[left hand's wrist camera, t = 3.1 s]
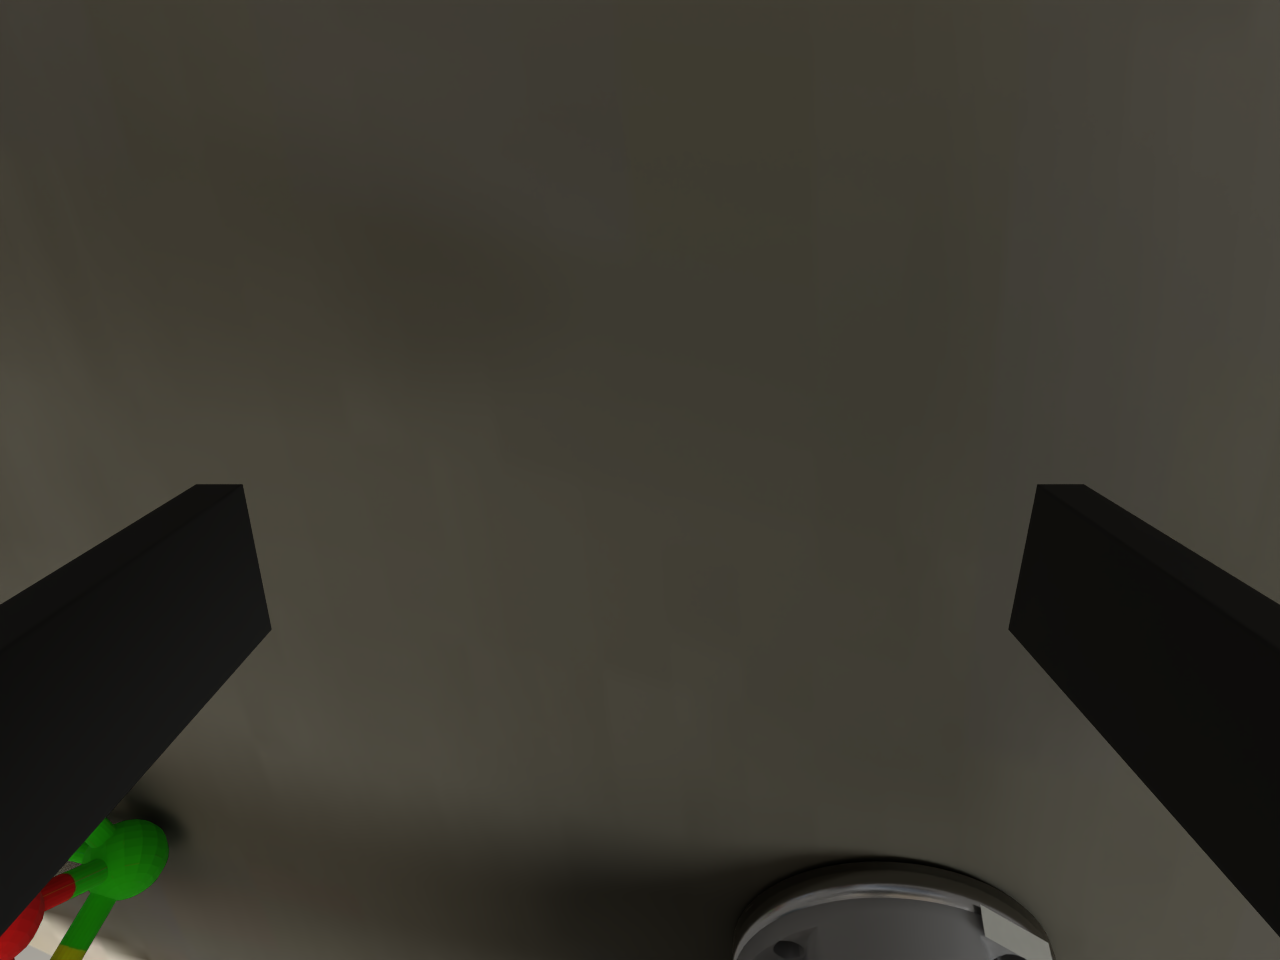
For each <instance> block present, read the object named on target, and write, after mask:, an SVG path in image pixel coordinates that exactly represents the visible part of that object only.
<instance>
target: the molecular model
mask: <svg viewBox="0 0 1280 960" xmlns="http://www.w3.org/2000/svg"><path fill="white" fill-rule="evenodd" d="M168 854H169V847H168V842H167V839H166V835H165V834H164V832H163V830H162V829H161V828H160V827H159V826H157V825H156V824H154V823H152V822H149V821H147V820H141V819H132V820H125V821H122V822H119V823H116V824H114V825H113V824H112V823H111V822H110V821H109V820H108V819H107V818H105V819H104V820H103V821H102V822H101V823H100V824H99V826H98V827H97V828H96V829H95V830H94V831H93V832H92V834H91V835H90V836H89V837H88V838H87V839H86V840H85V841H84V843H83V844H82V845H81V846H80V847H79V848H78V849H77V851H76V852H75V853H74V854H73V855H72V856H71V857H70V859H69V860H68V861H72V862H77V863H81V864H82V865H80V866H78V867H76V868H74V869H71V870H69V871H67V872H64V873H62V874H60V875H57V876H55V877H53V878H52V879H51V880H50V881H49V882H48V883H47V885H46V886H45V887H44V888H43V889H42V890H41V891H40V893H39V894H38V895H37V896H36V897H35V898H34V899H33V900H32V902H31V903H30V904H29V905H28V906H27V907H26V908H25V910H24V911H23V912H22V913H21V914H20V915H19V916H18V917H17V919H16V920H15V921H14V922H13V923H12V924H11V925H10V927H9V928H8V929H7V930H6V931H5V932H4V933H3V934H2V936H1V937H0V960H15V959H14V957H15V956H17V955H18V954H19V953H20V952H21V951H22V950H23V949H24V948H26V947H27V945H28V944H29V943H30V941H31V940H32V939H33V937H34V935H35V933H36V932H37V930H38V928H39V925H40V923H41V921H42V919H43V915H44V911H46V910H48V909H51V908H53V907H55V906H57V905H59V904H61V903H63V902H65V901H67V900H69V899H71V898H74V897H76V896H78V895H80V894H82V893H84V892H86V891H89V892H90V895H89V896H88V898H87V900H86V901H85V903H84V905H83V906H82V908H81V909H80V911H79V913H78V914H77V916H76V918H75V919H74V921H73V923H72V924H71V926H70V928H69V929H68V931H67V933H66V934H65V936H64V938H63V939H62V941H61V942H60V944H59V946H58V947H57V949H56V951H55V952H54V954H53V956H52V957H51V959H50V960H82V958H83V957H84V955H85V953H86V952H87V950H88V948H89V946H90V945H91V943H92V941H93V940H94V938H95V936H96V934H97V933H98V931H99V929H100V928H101V926H102V924H103V922H104V921H105V919H106V917H107V916H108V914H109V912H110V910H111V909H112V907H113V905H114V904H115V902H116V901H117V900H124V899H127V898H131V897H133V896H135V895H137V894H139V893H141V892H143V891H144V890H145V889H147V888H148V887H149V886H151V885H152V884H153V883H154V882H155V881H156V880H157V878H158V876H159V875H160V873H161V872H162V870H163V868H164V867H165V865H166V862H167V859H168Z"/></svg>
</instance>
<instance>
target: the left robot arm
mask: <svg viewBox="0 0 1280 960" xmlns="http://www.w3.org/2000/svg"><path fill="white" fill-rule="evenodd" d="M270 631H271V624H270V619H269V614H268V609H267V604H266V599H265V594H264V589H263V584H262V579H261V574H260V569H259V564H258V559H257V554H256V549H255V544H254V539H253V534H252V529H251V524H250V519H249V514H248V509H247V504H246V499H245V494H244V489H243V484H196V485H194V486H193V487H191V488H190V489H188V490H186V491H185V492H183V493H181V494H180V495H178V496H177V497H175V498H173V499H172V500H170V501H168V502H167V503H165V504H163V505H162V506H160V507H159V508H157V509H155V510H154V511H152V512H150V513H149V514H147V515H146V516H144V517H142V518H141V519H139V520H137V521H136V522H134V523H133V524H131V525H129V526H128V527H126V528H124V529H123V530H121V531H120V532H118V533H116V534H115V535H113V536H111V537H110V538H108V539H107V540H105V541H103V542H102V543H100V544H98V545H97V546H95V547H94V548H92V549H90V550H89V551H87V552H85V553H84V554H82V555H81V556H79V557H77V558H76V559H74V560H72V561H71V562H69V563H67V564H66V565H64V566H63V567H61V568H59V569H58V570H56V571H54V572H53V573H51V574H50V575H48V576H46V577H45V578H43V579H41V580H40V581H38V582H37V583H35V584H33V585H32V586H30V587H28V588H27V589H25V590H24V591H22V592H20V593H19V594H17V595H15V596H14V597H12V598H11V599H9V600H7V601H6V602H4V603H2V604H1V605H0V937H1V936H2V934H3V933H4V932H5V931H6V930H7V929H8V928H9V927H10V925H11V924H12V923H13V922H14V921H15V920H16V919H17V917H18V916H19V915H20V914H21V913H22V912H23V911H24V910H25V908H26V907H27V906H28V905H29V904H30V903H31V902H32V900H33V899H34V898H35V897H36V896H37V895H38V894H39V893H40V891H41V890H42V889H43V888H44V887H45V886H46V885H47V883H48V882H49V881H50V880H51V879H52V878H53V877H54V876H55V874H56V873H57V872H58V871H59V870H60V869H61V868H62V866H63V865H64V864H65V863H66V862H67V861H68V860H69V859H70V857H71V856H72V855H73V854H74V853H75V852H76V851H77V849H78V848H79V847H80V846H81V845H82V844H83V843H84V841H85V840H86V839H87V838H88V837H89V836H90V835H91V834H92V832H93V831H94V830H95V829H96V828H97V827H98V826H99V824H100V823H101V822H102V821H103V820H104V819H105V818H106V817H107V815H108V814H109V813H110V812H111V811H112V810H113V809H114V807H115V806H116V805H117V804H118V803H119V802H120V801H121V800H122V798H123V797H124V796H125V795H126V794H127V793H128V792H129V790H130V789H131V788H132V787H133V786H134V785H135V784H136V783H137V781H138V780H139V779H140V778H141V777H142V776H143V775H144V773H145V772H146V771H147V770H148V769H149V768H150V767H151V766H152V764H153V763H154V762H155V761H156V760H157V759H158V758H159V756H160V755H161V754H162V753H163V752H164V751H165V750H166V749H167V747H168V746H169V745H170V744H171V743H172V742H173V741H174V739H175V738H176V737H177V736H178V735H179V734H180V733H181V732H182V730H183V729H184V728H185V727H186V726H187V725H188V724H189V722H190V721H191V720H192V719H193V718H194V717H195V716H196V715H197V713H198V712H199V711H200V710H201V709H202V708H203V707H204V705H205V704H206V703H207V702H208V701H209V700H210V699H211V698H212V696H213V695H214V694H215V693H216V692H217V691H218V690H219V688H220V687H221V686H222V685H223V684H224V683H225V682H226V681H227V679H228V678H229V677H230V676H231V675H232V674H233V673H234V671H235V670H236V669H237V668H238V667H239V666H240V665H241V663H242V662H243V661H244V660H245V659H246V658H247V657H248V656H249V654H250V653H251V652H252V651H253V650H254V649H255V648H256V646H257V645H258V644H259V643H260V642H261V641H262V640H263V639H264V637H265V636H266V635H267V634H268V633H269V632H270ZM1009 631H1010V632H1011V633H1012V634H1013V635H1014V636H1015V637H1016V639H1017V640H1018V641H1019V642H1020V643H1021V644H1022V645H1023V646H1024V648H1025V649H1026V650H1027V651H1028V652H1029V653H1030V654H1031V656H1032V657H1033V658H1034V659H1035V660H1036V661H1037V662H1038V663H1039V665H1040V666H1041V667H1042V668H1043V669H1044V670H1045V671H1046V673H1047V674H1048V675H1049V676H1050V677H1051V678H1052V679H1053V681H1054V682H1055V683H1056V684H1057V685H1058V686H1059V687H1060V688H1061V690H1062V691H1063V692H1064V693H1065V694H1066V695H1067V696H1068V698H1069V699H1070V700H1071V701H1072V702H1073V703H1074V704H1075V705H1076V707H1077V708H1078V709H1079V710H1080V711H1081V712H1082V713H1083V715H1084V716H1085V717H1086V718H1087V719H1088V720H1089V721H1090V722H1091V724H1092V725H1093V726H1094V727H1095V728H1096V729H1097V730H1098V732H1099V733H1100V734H1101V735H1102V736H1103V737H1104V738H1105V739H1106V741H1107V742H1108V743H1109V744H1110V745H1111V746H1112V747H1113V749H1114V750H1115V751H1116V752H1117V753H1118V754H1119V755H1120V756H1121V758H1122V759H1123V760H1124V761H1125V762H1126V763H1127V764H1128V766H1129V767H1130V768H1131V769H1132V770H1133V771H1134V772H1135V773H1136V775H1137V776H1138V777H1139V778H1140V779H1141V780H1142V781H1143V783H1144V784H1145V785H1146V786H1147V787H1148V788H1149V789H1150V790H1151V792H1152V793H1153V794H1154V795H1155V796H1156V797H1157V798H1158V800H1159V801H1160V802H1161V803H1162V804H1163V805H1164V806H1165V807H1166V809H1167V810H1168V811H1169V812H1170V813H1171V814H1172V815H1173V817H1174V818H1175V819H1176V820H1177V821H1178V822H1179V823H1180V824H1181V826H1182V827H1183V828H1184V829H1185V830H1186V831H1187V832H1188V834H1189V835H1190V836H1191V837H1192V838H1193V839H1194V840H1195V842H1196V843H1197V844H1198V845H1199V846H1200V847H1201V848H1202V849H1203V851H1204V852H1205V853H1206V854H1207V855H1208V856H1209V857H1210V859H1211V860H1212V861H1213V862H1214V863H1215V864H1216V865H1217V866H1218V868H1219V869H1220V870H1221V871H1222V872H1223V873H1224V874H1225V876H1226V877H1227V878H1228V879H1229V880H1230V881H1231V882H1232V883H1233V885H1234V886H1235V887H1236V888H1237V889H1238V890H1239V891H1240V893H1241V894H1242V895H1243V896H1244V897H1245V898H1246V899H1247V900H1248V902H1249V903H1250V904H1251V905H1252V906H1253V907H1254V908H1255V910H1256V911H1257V912H1258V913H1259V914H1260V915H1261V916H1262V917H1263V919H1264V920H1265V921H1266V922H1267V923H1268V924H1269V925H1270V927H1271V928H1272V929H1273V930H1274V931H1275V932H1276V933H1277V934H1278V936H1279V937H1280V605H1279V604H1278V603H1276V602H1274V601H1273V600H1271V599H1269V598H1268V597H1266V596H1265V595H1263V594H1261V593H1260V592H1258V591H1256V590H1255V589H1253V588H1252V587H1250V586H1248V585H1247V584H1245V583H1243V582H1242V581H1240V580H1239V579H1237V578H1235V577H1234V576H1232V575H1230V574H1229V573H1227V572H1226V571H1224V570H1222V569H1221V568H1219V567H1217V566H1216V565H1214V564H1213V563H1211V562H1209V561H1208V560H1206V559H1204V558H1203V557H1201V556H1199V555H1198V554H1196V553H1195V552H1193V551H1191V550H1190V549H1188V548H1186V547H1185V546H1183V545H1182V544H1180V543H1178V542H1177V541H1175V540H1173V539H1172V538H1170V537H1169V536H1167V535H1165V534H1164V533H1162V532H1160V531H1159V530H1157V529H1156V528H1154V527H1152V526H1151V525H1149V524H1147V523H1146V522H1144V521H1143V520H1141V519H1139V518H1138V517H1136V516H1134V515H1133V514H1131V513H1130V512H1128V511H1126V510H1125V509H1123V508H1121V507H1120V506H1118V505H1116V504H1115V503H1113V502H1112V501H1110V500H1108V499H1107V498H1105V497H1103V496H1102V495H1100V494H1099V493H1097V492H1095V491H1094V490H1092V489H1090V488H1089V487H1087V486H1086V485H1084V484H1037V489H1036V494H1035V499H1034V504H1033V509H1032V514H1031V519H1030V524H1029V529H1028V534H1027V539H1026V544H1025V549H1024V554H1023V559H1022V564H1021V569H1020V574H1019V579H1018V584H1017V589H1016V594H1015V599H1014V604H1013V609H1012V614H1011V619H1010V624H1009ZM732 960H1056V958H1055V955H1054V952H1053V949H1052V947H1051V944H1050V941H1049V939H1048V937H1047V934H1046V933H1045V931H1044V929H1043V928H1042V926H1041V925H1040V923H1039V922H1038V921H1037V920H1036V919H1035V918H1034V916H1033V915H1032V914H1031V913H1030V912H1029V911H1027V910H1026V909H1025V908H1024V907H1023V906H1022V905H1021V904H1019V903H1018V902H1017V901H1015V900H1014V899H1013V898H1011V897H1009V896H1008V895H1006V894H1004V893H1003V892H1001V891H999V890H997V889H995V888H994V887H992V886H990V885H988V884H985V883H983V882H981V881H978V880H976V879H973V878H971V877H968V876H965V875H962V874H959V873H955V872H952V871H948V870H944V869H940V868H935V867H930V866H924V865H918V864H910V863H900V862H855V863H846V864H838V865H832V866H827V867H822V868H818V869H814V870H810V871H807V872H804V873H801V874H798V875H795V876H792V877H790V878H788V879H785V880H783V881H781V882H779V883H777V884H776V885H774V886H772V887H770V888H769V889H767V890H766V891H764V892H763V893H761V894H760V895H759V896H758V897H757V898H755V899H754V900H753V901H752V902H751V903H750V904H749V905H748V906H747V908H746V909H745V910H744V912H743V913H742V915H741V916H740V918H739V920H738V922H737V924H736V927H735V931H734V935H733V952H732Z"/></svg>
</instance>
